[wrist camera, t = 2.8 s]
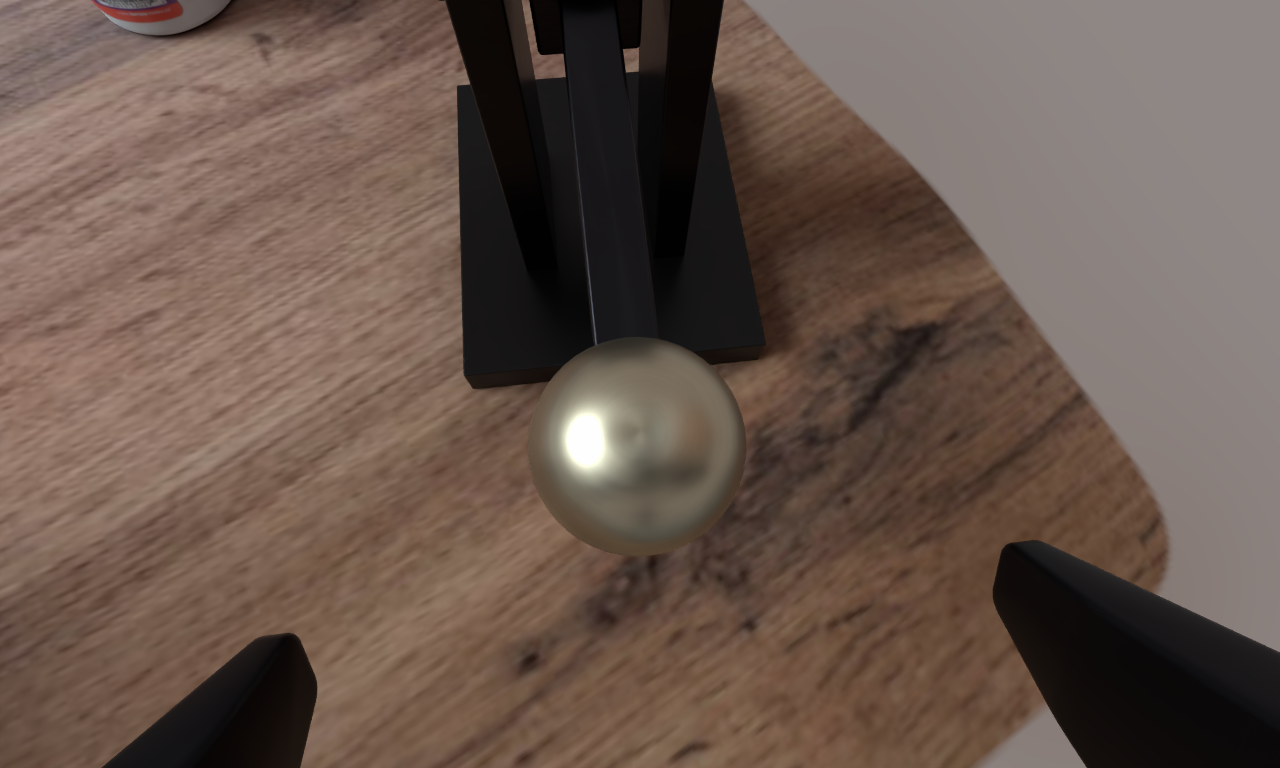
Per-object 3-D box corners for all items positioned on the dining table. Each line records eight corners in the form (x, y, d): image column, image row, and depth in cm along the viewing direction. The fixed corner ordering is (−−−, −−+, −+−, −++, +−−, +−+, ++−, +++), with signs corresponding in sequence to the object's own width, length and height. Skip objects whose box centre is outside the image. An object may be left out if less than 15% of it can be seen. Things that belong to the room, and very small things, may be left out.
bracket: (758, 359, 20) (908, 67, 9) (472, 389, 19) (282, 116, 9) (705, 91, 24) (768, -336, 13) (465, 110, 23) (325, -318, 12)
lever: (738, 538, 12) (788, 546, 8) (550, 561, 12) (520, 579, 8) (656, -37, 15) (668, -212, 11) (502, -26, 14) (464, -202, 11)
